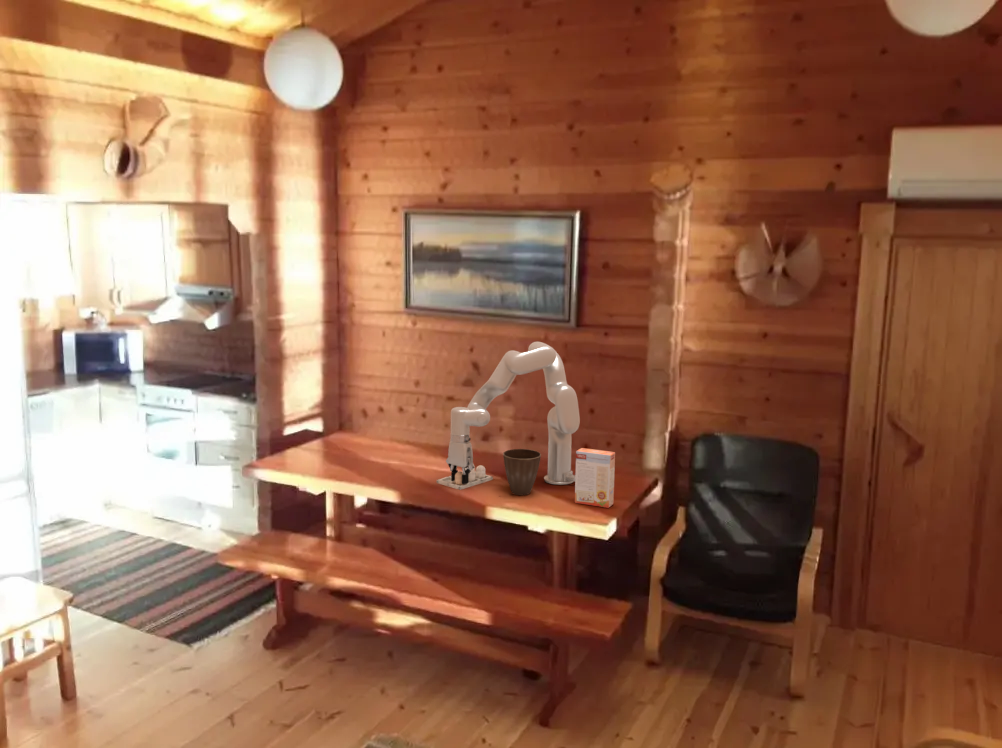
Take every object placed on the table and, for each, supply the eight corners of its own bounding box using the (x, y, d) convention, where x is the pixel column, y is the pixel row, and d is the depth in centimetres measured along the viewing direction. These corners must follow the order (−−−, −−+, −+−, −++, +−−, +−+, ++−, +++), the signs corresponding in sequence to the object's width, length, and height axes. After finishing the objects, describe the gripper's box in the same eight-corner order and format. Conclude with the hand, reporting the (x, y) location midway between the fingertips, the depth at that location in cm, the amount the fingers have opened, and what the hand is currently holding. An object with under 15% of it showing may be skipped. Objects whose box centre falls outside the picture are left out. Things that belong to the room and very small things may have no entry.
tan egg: (466, 485, 351) (466, 471, 350) (459, 488, 348) (459, 473, 347) (459, 483, 354) (459, 469, 353) (452, 486, 351) (452, 471, 350)
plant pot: (539, 487, 354) (540, 449, 352) (540, 498, 340) (541, 459, 337) (502, 486, 354) (503, 448, 352) (502, 498, 340) (503, 458, 337)
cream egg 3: (487, 479, 360) (487, 465, 359) (480, 481, 357) (480, 467, 356) (480, 477, 363) (480, 463, 362) (473, 479, 360) (473, 465, 359)
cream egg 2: (477, 482, 356) (477, 468, 355) (470, 484, 353) (470, 470, 352) (470, 480, 359) (470, 466, 357) (463, 482, 356) (463, 468, 355)
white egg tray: (492, 481, 361) (492, 476, 360) (459, 492, 346) (459, 486, 346) (469, 475, 369) (469, 470, 369) (436, 485, 355) (436, 479, 355)
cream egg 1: (476, 476, 364) (476, 462, 363) (470, 478, 361) (470, 464, 360) (469, 474, 367) (469, 460, 366) (463, 476, 364) (463, 462, 363)
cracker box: (613, 504, 334) (616, 451, 331) (608, 508, 329) (610, 455, 325) (579, 498, 341) (581, 446, 337) (574, 503, 335) (575, 450, 332)
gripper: (482, 440, 345) (481, 484, 348) (451, 432, 356) (451, 475, 359) (469, 443, 339) (468, 488, 343) (438, 436, 351) (438, 479, 354)
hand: (459, 481), depth 351 cm, fingers open, 5 cm apart
